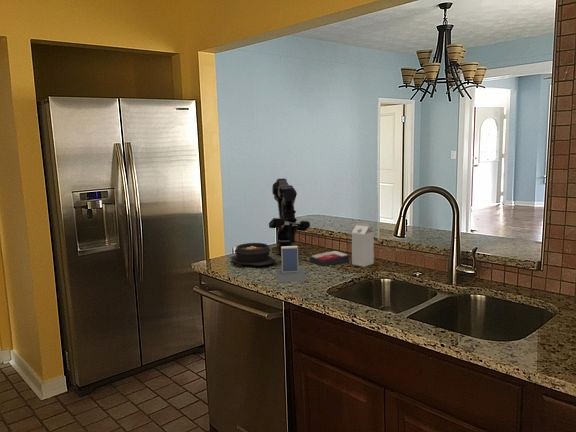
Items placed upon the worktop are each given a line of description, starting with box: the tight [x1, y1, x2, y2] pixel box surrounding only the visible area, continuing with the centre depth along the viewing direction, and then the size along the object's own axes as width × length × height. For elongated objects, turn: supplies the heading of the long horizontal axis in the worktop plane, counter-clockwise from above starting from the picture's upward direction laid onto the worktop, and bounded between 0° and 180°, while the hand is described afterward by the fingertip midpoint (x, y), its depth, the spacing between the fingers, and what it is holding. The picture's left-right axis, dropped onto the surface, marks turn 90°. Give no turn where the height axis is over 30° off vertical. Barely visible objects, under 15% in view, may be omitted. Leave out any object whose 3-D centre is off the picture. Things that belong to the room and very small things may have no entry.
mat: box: [275, 267, 308, 283], centre depth 204 cm, size 20×12×1 cm, turn 4°
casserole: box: [230, 242, 277, 267], centre depth 226 cm, size 25×19×8 cm
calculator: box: [309, 250, 350, 267], centre depth 225 cm, size 11×4×15 cm
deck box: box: [280, 245, 299, 273], centre depth 208 cm, size 3×7×11 cm, turn 93°
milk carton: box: [351, 222, 375, 268], centre depth 218 cm, size 7×7×19 cm
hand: (291, 241), depth 218 cm, fingers closed
